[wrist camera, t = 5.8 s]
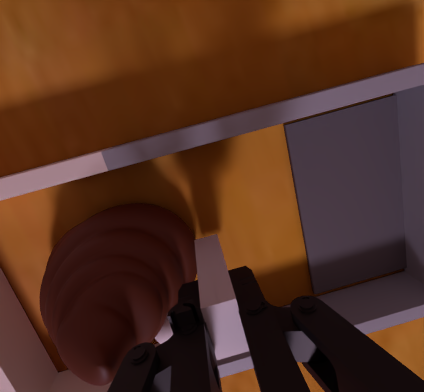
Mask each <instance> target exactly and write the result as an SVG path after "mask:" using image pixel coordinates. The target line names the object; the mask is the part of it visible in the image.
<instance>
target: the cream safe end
mask: <svg viewBox="0 0 424 392" xmlns="http://www.w3.org/2000/svg"><path fill="white" fill-rule="evenodd" d="M114 147H115V146H114ZM110 148H112V147H110ZM107 149H109V148H106V149H103V150H99V151H95V152H92V153H88V154H84V155H81V156H77V157H73V158H70V159H66V160H62V161H59V162H55V163H51V164H48V165H44V166H40V167H36V168H33V169H29V170H25V171H22V172H18V173H14V174H11V175H7V176H3V177H0V200H4V199H7V198H11V197H15V196H18V195H22V194H26V193H29V192H33V191H36V190H40V189H44V188H47V187H51V186H55V185H58V184H62V183H66V182H69V181H73V180H77V179H80V178H84V177H88V176H91V175H95V174H99V173H102V172H106V171H108V169H107V166H106V164H105V161H104V158H103V156H102V153H101V151H104V150H107ZM154 345H155V347H157V346H158V345H160V343H157V344H154ZM111 383H112V382H110V383H109V384H106V385H103V386H95V385H92V384H89V383H87V382H85V381H83V380H81V379H80V378H78V377H77V376H76V375H75V374H73V373H72V372H71V371H70V370H65V371H62V372H59V373H58V372H57V370H56V368H55V366H54V364H53V362H52V361H51V359H50V357H49V355H48V353H47V351H46V350H45V348H44V346H43V344H42V342H41V341H40V339H39V337H38V335H37V333H36V331H35V330H34V328H33V326H32V324H31V322H30V321H29V319H28V317H27V315H26V313H25V311H24V310H23V308H22V306H21V304H20V302H19V300H18V299H17V297H16V295H15V293H14V291H13V290H12V288H11V286H10V284H9V282H8V280H7V279H6V277H5V275H4V273H3V271H2V270H1V268H0V392H107V391H108V389H109V387H110V385H111Z"/></svg>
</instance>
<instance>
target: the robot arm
mask: <svg viewBox="0 0 424 392" xmlns="http://www.w3.org/2000/svg"><path fill="white" fill-rule="evenodd" d="M194 242H195V253H196V264H197V275H198V280H196V281H192V282H189V283H185V284H182V286H181V287H180V289H179V291H178V304H176V305H175V306H174V307H172V308H171V310H170V311H169V312H168V315H167V318H168V321H169V323H170V326H171V329H172V332H173V335H172V336H171V337H170V338H169V339H168V340H167V341H165V342H164V343H162V344H160V345H158V346H157V347H155V345H154V344H152V343H149V342H144V343H140V344H138V345H136V346H134V347H133V348H132V349H131V350H129V351H128V352H127V354H126V355H125V357H124V359H123V361H122V363H121V365H120V367H119V369H118V371H117V373H116V375H115V377H114V379H113V381H112V383H111V385H110V387H109V389H108V391H107V392H222V388H221V381H220V374H219V370H218V366H217V363H216V359H217V360H220V359H224V358H227V357H230V356H234V355H237V354H241V353H244V352H248V351H249V352H250V355H251V359H252V363H253V367H254V370H255V374H256V377H257V380H258V384H259V387H260V391H261V392H310V390H309V388H308V386H307V383H306V381H305V379H304V377H303V375H302V373H301V371H300V368H299V366H298V364H297V362H302V364H303V366H304V367H305V368H306V369H307V371H308V372H309V373H310V374H311V375H312V377H313V378H314V379H315V380H316V381H317V383H318V384H319V385H320V386H321V388H322V389H323V390H324V391H325V392H424V381H423V380H422V379H421V378H420V377H418V376H417V375H416V374H415V373H413V372H412V371H411V370H409V369H408V368H407V367H406V366H404V365H403V364H402V363H401V362H399V361H398V360H397V359H395V358H394V357H393V356H392V355H390V354H389V353H388V352H387V351H385V350H384V349H383V348H382V347H380V346H379V345H378V344H376V343H375V342H374V341H373V340H371V339H370V338H369V337H368V336H366V335H365V334H364V333H362V332H361V331H360V330H359V329H357V328H356V327H355V326H354V325H352V324H351V323H350V322H348V321H347V320H346V319H345V318H343V317H342V316H341V315H340V314H338V313H337V312H336V311H334V310H333V309H332V308H331V307H329V306H328V305H327V304H326V303H324V302H323V301H322V300H320V299H318V298H317V297H314V296H301V297H298V298H296V299H294V300H293V301H292V303H291V304H290V307H276V306H273V305H271V304H269V303H268V302H267V301H266V300H265V298H264V296H263V294H262V292H261V290H260V287H259V285H258V283H257V281H256V279H255V277H254V274H253V272H252V270H251V269H249V268H248V267H246V266H243V267H239V268H236V269H232V270H229V271H228V270H227V266H226V263H225V260H224V256H223V253H222V249H221V246H220V243H219V239H218V236H217V234H215V235H211V236H208V237H204V238H201V239H197V240H194ZM215 356H216V357H215Z"/></svg>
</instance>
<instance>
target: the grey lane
mask: <svg viewBox="0 0 424 392" xmlns="http://www.w3.org/2000/svg"><path fill="white" fill-rule="evenodd" d="M391 93H393V96H389V97H385V98H382V99H378V100H374V101H371V102H367V103H363V104H360V105H356V106H353V107H349V108H345V109H342V110H338V111H334V112H331V113H327V114H323V115H320V116H316V117H312V118H309V119H305V120H301V121H298V122H294V123H291V124H287V125H284V131H285V136H286V142H287V148H288V153H289V159H290V164H291V170H292V176H293V181H294V187H295V193H296V198H297V204H298V210H299V215H300V221H301V227H302V232H303V238H304V243H305V249H306V255H307V260H308V266H309V272H310V277H311V283H312V289H313V293H314V294H318V293H322V292H325V291H328V290H332V289H335V288H339V287H342V286H345V285H349V284H352V283H356V282H359V281H363V280H366V279H369V278H373V277H376V276H380V275H383V274H386V273H390V272H393V271H397V270H400V269H403V268H404V271H402V272H399V273H395V274H392V275H389V276H385V277H382V278H378V279H375V280H372V281H368V282H365V283H361V284H358V285H355V286H351V287H348V288H344V289H341V290H338V291H334V292H331V293H327V294H324V295H321V296H317V298H318V299H320V300H322V301H323V302H324V303H326V304H327V305H328V306H329V307H331V308H332V309H333V310H334V311H336V312H337V313H338V314H340V315H341V316H342V317H343V318H345V319H346V320H347V321H348V322H350V323H351V324H352V325H354V326H355V327H356V328H357V329H359V330H360V331H361V332H362V333H364V334H368V333H372V332H375V331H378V330H382V329H385V328H388V327H392V326H395V325H398V324H402V323H405V322H408V321H412V320H415V319H418V318H422V317H424V63H421V64H417V65H413V66H409V67H405V68H401V69H398V70H394V71H390V72H387V73H383V74H379V75H376V76H372V77H368V78H365V79H361V80H357V81H353V82H350V83H346V84H342V85H339V86H335V87H331V88H328V89H324V90H320V91H317V92H313V93H309V94H306V95H302V96H298V97H295V98H291V99H287V100H283V101H280V102H276V103H272V104H269V105H265V106H261V107H258V108H254V109H250V110H247V111H243V112H239V113H236V114H232V115H228V116H224V117H221V118H217V119H213V120H210V121H206V122H202V123H199V124H195V125H191V126H188V127H184V128H180V129H177V130H173V131H169V132H166V133H162V134H158V135H154V136H151V137H147V138H143V139H140V140H136V141H132V142H129V143H125V144H121V145H118V146H115V147H112V148H109V149H107V150H104V151H101V153H102V156H103V158H104V161H105V164H106V166H107V169H108V171H110V170H113V169H117V168H121V167H124V166H128V165H132V164H135V163H139V162H142V161H146V160H150V159H153V158H157V157H161V156H164V155H168V154H172V153H175V152H179V151H183V150H186V149H190V148H194V147H197V146H201V145H205V144H208V143H212V142H216V141H219V140H223V139H226V138H230V137H234V136H237V135H241V134H245V133H248V132H252V131H256V130H259V129H263V128H267V127H270V126H274V125H278V124H281V123H285V122H289V121H292V120H296V119H300V118H303V117H307V116H310V115H314V114H318V113H321V112H325V111H329V110H332V109H336V108H340V107H343V106H347V105H351V104H354V103H358V102H362V101H365V100H369V99H373V98H376V97H380V96H384V95H387V94H391ZM283 307H290V305H287V306H283ZM215 357H216V356H215ZM216 363H217V366H218V370H219V374H220V378H222V377H225V376H228V375H232V374H235V373H238V372H242V371H245V370H248V369H252V368H254V367H253V363H252V359H251V355H250V352H249V351H248V352H244V353H241V354H237V355H234V356H230V357H227V358H224V359H220V360H217V359H216Z"/></svg>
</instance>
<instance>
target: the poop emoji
mask: <svg viewBox="0 0 424 392" xmlns="http://www.w3.org/2000/svg"><path fill="white" fill-rule="evenodd" d="M194 240H195V238H194V236H193V234H192V232H191V230H190V229H189V227H188V226H187V225H186V224H185V223H184V222H183V221H182V220H181V219H180V218H179V217H178V216H176V215H175V214H174V213H172V212H170V211H168V210H166V209H164V208H162V207H159V206H156V205H151V204H143V203H132V204H124V205H119V206H115V207H112V208H109V209H106V210H104V211H102V212H99V213H97V214H95V215H94V216H92V217H90V218H89V219H87V220H86V221H84V222H83V223H81V224H79V225H77V226H75V227H74V228H72V229H71V230H70V231H68V232H67V233H66V234H65V235H64V236H63V237H62V238H61V239H60V240H59V241H58V243H57V244H56V246H55V247H54V249H53V251H52V252H51V255H50V257H49V259H48V262H47V266H46V271H45V274H44V277H43V280H42V284H41V289H40V311H41V315H42V319H43V322H44V324H45V326H46V328H47V330H48V333H49V335H50V338H51V339H52V341H53V343H54V344H55V346H56V347H57V350H58V353H59V356H60V358H61V359H62V361H63V363H64V364H65V365H66V366H67V368H68V369H69V370H70V371H71V372H72V373H73V374H75V375H76V376H77V377H78V378H80V379H81V380H83V381H85V382H87V383H89V384H92V385H95V386H103V385H106V384H109V383H110V382H112V381H113V379H114V377H115V375H116V373H117V371H118V369H119V367H120V365H121V363H122V361H123V359H124V357H125V355H126V354H127V352H128V351H129V350H131V349H132V348H133V347H134V346H136V345H138V344H140V343H144V342H149V343H151V342H152V341H153V339H154V338H155V339H156V340H157V341H158V342H159V343H160V344H162V343H164V342H165V341H167V340H168V339H169V338H170V337H171V336H172V335H173V332H172V329H171V326H170V323H169V321H168V318H167V315H168V312H169V311H170V310H171V308H172V307H174V306H175V305H176V304H178V291H179V289H180V287H181V286H182V284H185V283H189V282H192V281H194V280H195V278H196V274H197V264H196V253H195V242H194Z"/></svg>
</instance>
